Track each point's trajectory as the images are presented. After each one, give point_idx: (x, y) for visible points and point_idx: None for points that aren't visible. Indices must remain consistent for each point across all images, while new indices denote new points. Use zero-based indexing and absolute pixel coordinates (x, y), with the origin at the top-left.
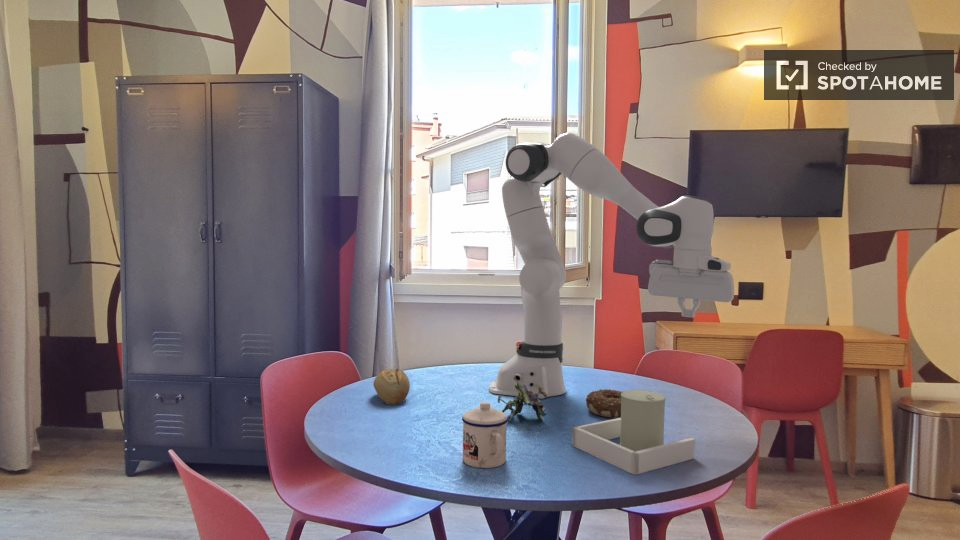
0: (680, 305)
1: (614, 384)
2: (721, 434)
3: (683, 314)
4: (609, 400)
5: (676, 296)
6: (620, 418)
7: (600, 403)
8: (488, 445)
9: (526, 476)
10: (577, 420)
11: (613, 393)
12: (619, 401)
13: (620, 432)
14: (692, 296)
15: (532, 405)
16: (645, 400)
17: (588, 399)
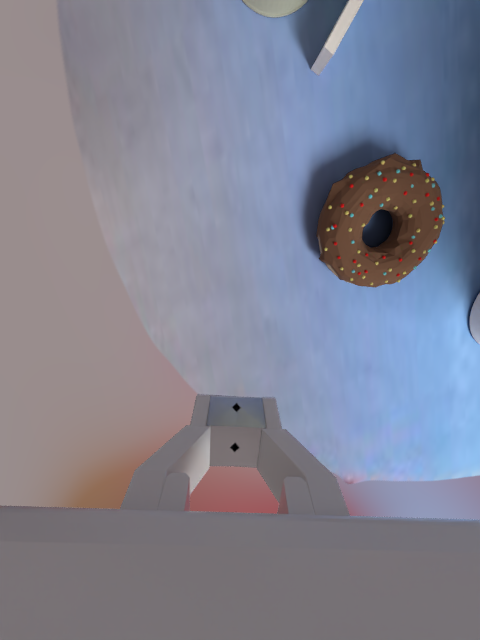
0: (300, 452)
1: (378, 412)
2: (142, 186)
3: (262, 402)
4: (393, 174)
5: (380, 524)
6: (354, 6)
7: (410, 164)
8: None
9: None
10: (438, 114)
11: (386, 256)
12: (369, 180)
13: (338, 18)
14: (176, 539)
15: None
16: None
17: (439, 188)
